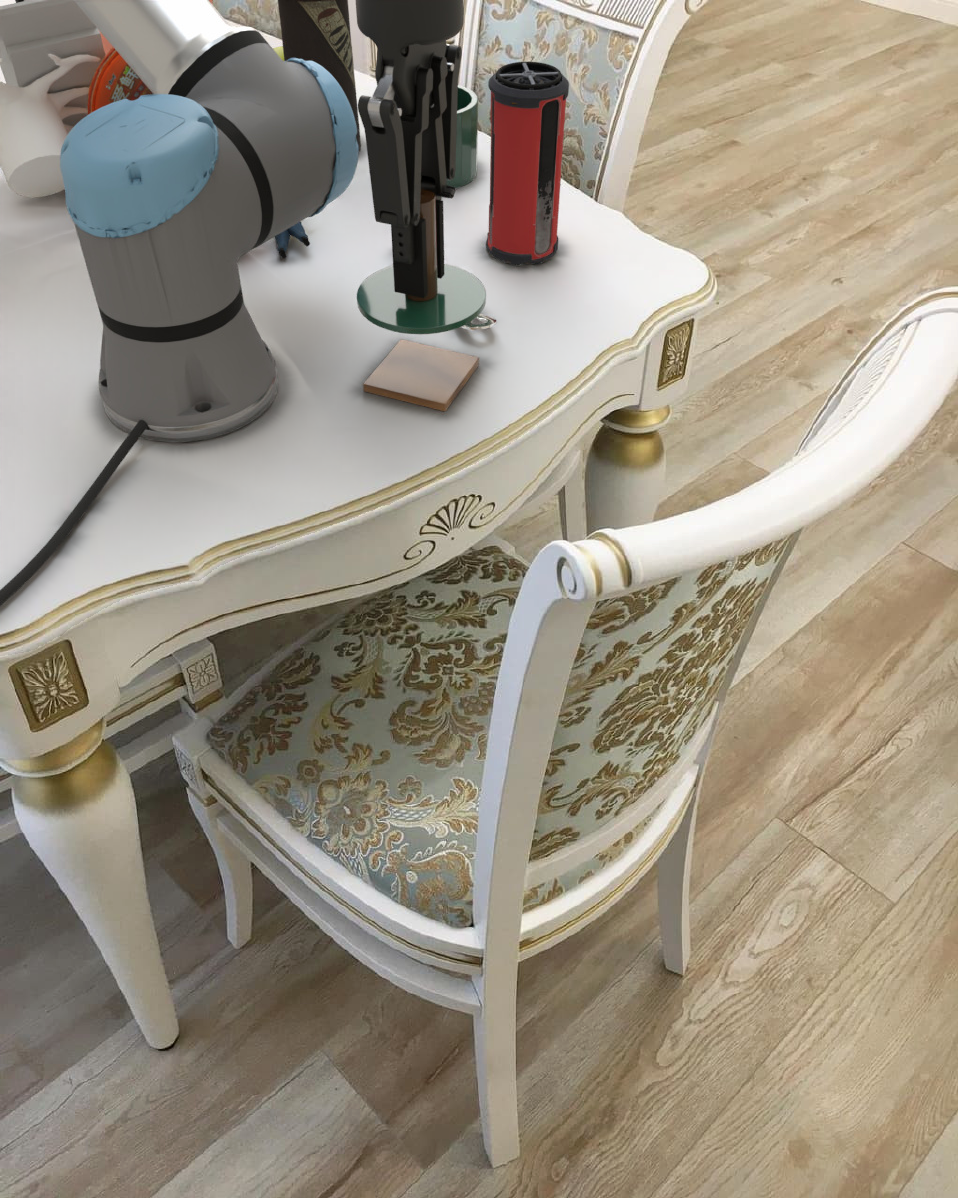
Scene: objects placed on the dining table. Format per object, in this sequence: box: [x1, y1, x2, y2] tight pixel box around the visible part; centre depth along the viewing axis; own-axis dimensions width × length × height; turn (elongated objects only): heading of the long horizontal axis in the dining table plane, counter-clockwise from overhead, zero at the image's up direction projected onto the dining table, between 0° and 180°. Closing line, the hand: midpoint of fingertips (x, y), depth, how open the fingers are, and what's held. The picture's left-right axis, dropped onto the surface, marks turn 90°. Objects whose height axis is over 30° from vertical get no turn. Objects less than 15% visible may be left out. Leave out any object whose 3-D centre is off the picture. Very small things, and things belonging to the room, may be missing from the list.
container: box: [277, 0, 362, 153], centre depth 121 cm, size 9×9×20 cm
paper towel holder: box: [356, 189, 487, 335], centre depth 85 cm, size 11×11×10 cm
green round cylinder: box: [447, 84, 479, 190], centre depth 121 cm, size 10×10×8 cm
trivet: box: [362, 338, 480, 412], centre depth 94 cm, size 8×8×1 cm
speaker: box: [485, 61, 570, 267], centre depth 104 cm, size 8×8×18 cm
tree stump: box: [0, 54, 100, 199], centre depth 115 cm, size 20×19×8 cm
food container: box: [87, 47, 153, 115], centre depth 116 cm, size 16×16×11 cm
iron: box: [0, 0, 106, 126], centre depth 117 cm, size 11×24×15 cm
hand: (419, 282), depth 87 cm, fingers closed on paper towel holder, 3 cm apart
